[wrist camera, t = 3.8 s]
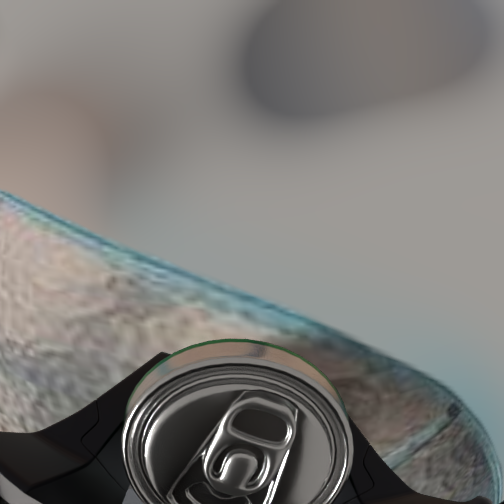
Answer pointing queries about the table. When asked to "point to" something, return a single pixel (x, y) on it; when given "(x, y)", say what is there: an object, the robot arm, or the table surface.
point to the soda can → (236, 428)
